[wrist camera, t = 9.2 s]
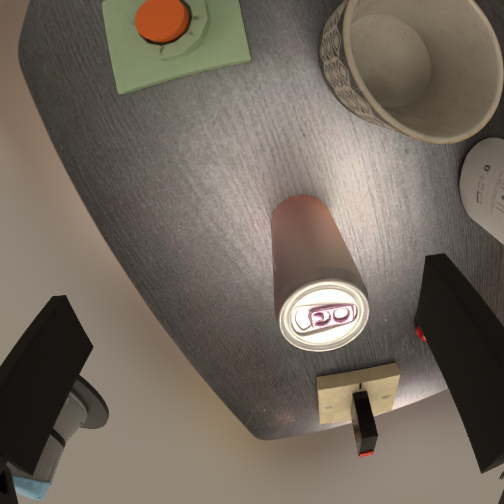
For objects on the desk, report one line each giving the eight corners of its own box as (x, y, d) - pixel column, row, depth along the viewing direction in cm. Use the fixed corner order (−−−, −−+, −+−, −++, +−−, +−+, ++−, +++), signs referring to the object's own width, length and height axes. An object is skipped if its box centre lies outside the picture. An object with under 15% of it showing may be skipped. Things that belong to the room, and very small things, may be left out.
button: (146, 48, 21) (138, 46, 19) (139, 8, 19) (131, 4, 18) (193, 34, 20) (188, 30, 19) (185, -6, 19) (179, -12, 17)
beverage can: (332, 242, 33) (371, 344, 19) (276, 252, 33) (283, 360, 20) (326, 187, 30) (373, 269, 17) (265, 198, 31) (266, 287, 17)
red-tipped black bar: (352, 393, 41) (362, 440, 33) (366, 390, 40) (378, 437, 33) (350, 414, 43) (358, 458, 36) (364, 411, 43) (373, 454, 36)
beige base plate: (318, 412, 47) (320, 425, 45) (316, 376, 43) (318, 390, 40) (387, 400, 46) (391, 412, 44) (395, 361, 41) (400, 375, 39)
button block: (127, 93, 26) (109, 95, 22) (111, 6, 21) (92, -2, 18) (251, 61, 25) (250, 56, 21) (231, -30, 20) (227, -46, 16)
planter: (450, 38, 21) (515, 30, 12) (417, 144, 27) (476, 172, 18) (335, -19, 20) (367, -63, 11) (298, 96, 26) (317, 98, 17)
